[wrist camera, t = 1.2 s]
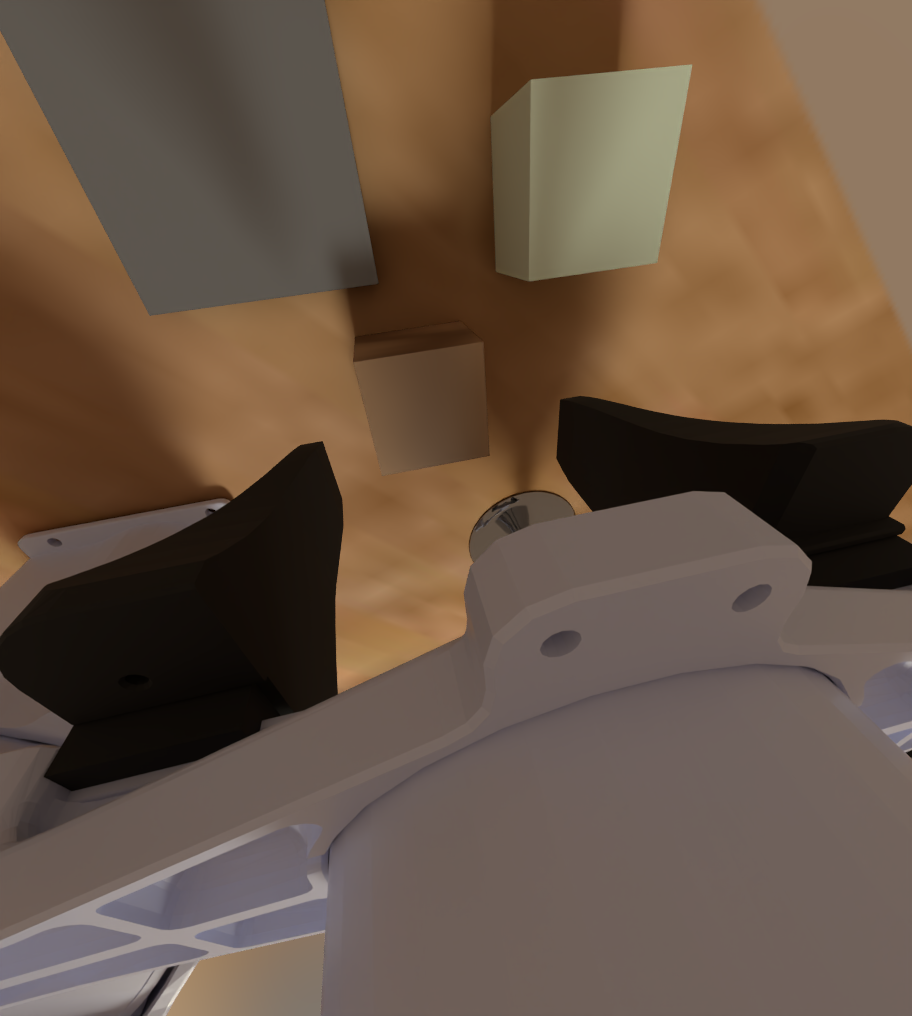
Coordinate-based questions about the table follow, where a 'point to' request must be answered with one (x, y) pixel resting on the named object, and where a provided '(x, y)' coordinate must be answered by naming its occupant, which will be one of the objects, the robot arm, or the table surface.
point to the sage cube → (585, 171)
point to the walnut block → (424, 395)
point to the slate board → (203, 141)
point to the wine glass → (516, 517)
